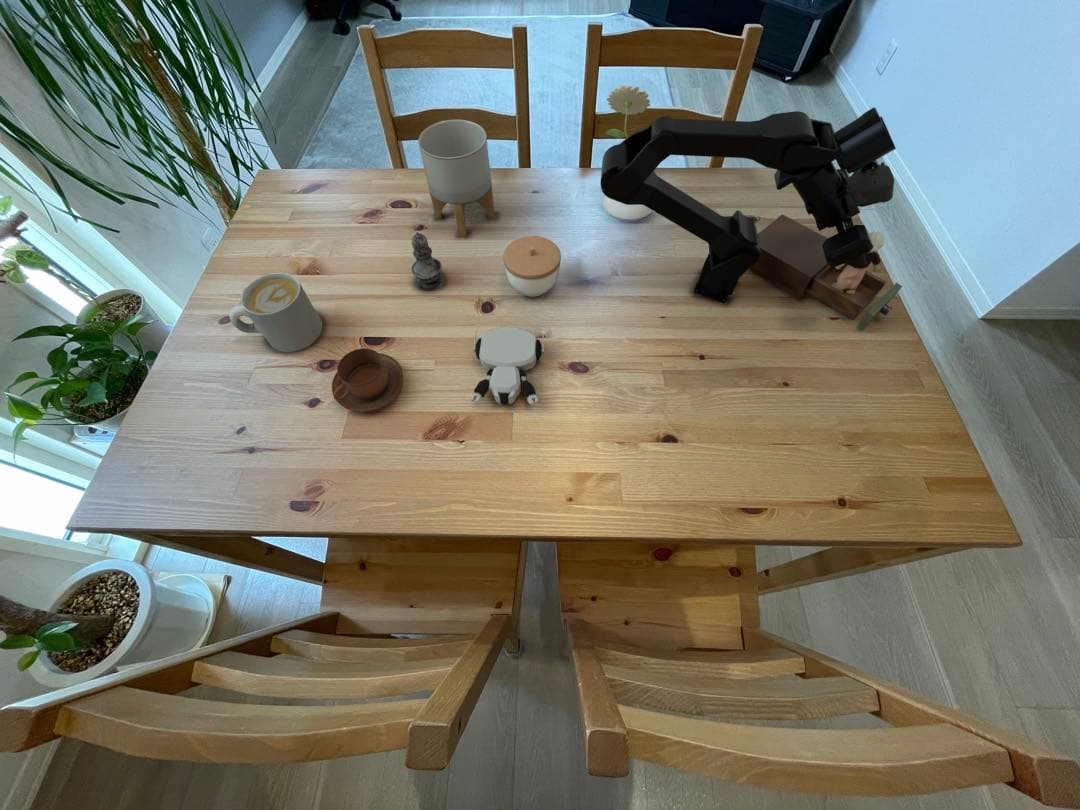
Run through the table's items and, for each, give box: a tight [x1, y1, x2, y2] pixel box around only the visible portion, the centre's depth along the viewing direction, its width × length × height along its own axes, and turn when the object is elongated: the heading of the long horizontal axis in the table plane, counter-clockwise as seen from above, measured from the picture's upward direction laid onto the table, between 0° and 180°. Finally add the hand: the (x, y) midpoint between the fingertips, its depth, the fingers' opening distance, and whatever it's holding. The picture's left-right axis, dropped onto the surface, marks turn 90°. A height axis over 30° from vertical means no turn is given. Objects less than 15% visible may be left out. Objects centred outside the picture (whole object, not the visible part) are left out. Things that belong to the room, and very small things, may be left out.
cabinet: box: [748, 214, 828, 300], centre depth 100 cm, size 14×12×6 cm
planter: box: [417, 119, 496, 237], centre depth 105 cm, size 13×13×18 cm
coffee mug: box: [229, 271, 323, 353], centre depth 91 cm, size 13×10×10 cm
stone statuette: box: [410, 231, 444, 292], centre depth 97 cm, size 6×6×12 cm
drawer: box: [805, 264, 903, 330], centre depth 95 cm, size 14×10×4 cm
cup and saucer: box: [331, 347, 404, 413], centre depth 86 cm, size 12×12×6 cm
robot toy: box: [469, 326, 545, 406], centre depth 88 cm, size 12×4×15 cm
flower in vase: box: [601, 84, 653, 222], centre depth 102 cm, size 13×11×25 cm
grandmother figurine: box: [831, 231, 885, 294], centre depth 91 cm, size 8×4×13 cm, turn 99°
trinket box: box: [502, 235, 562, 298], centre depth 97 cm, size 11×11×9 cm
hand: (856, 247), depth 88 cm, fingers open, 9 cm apart
